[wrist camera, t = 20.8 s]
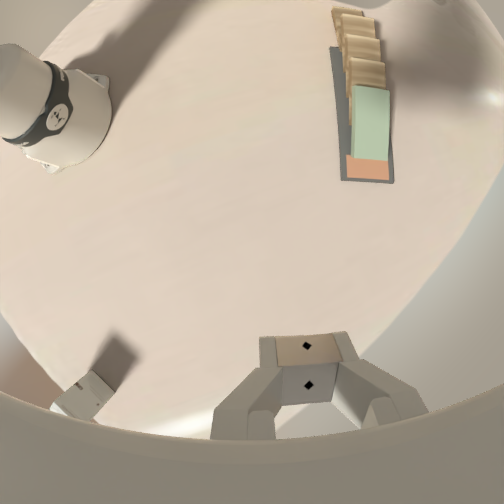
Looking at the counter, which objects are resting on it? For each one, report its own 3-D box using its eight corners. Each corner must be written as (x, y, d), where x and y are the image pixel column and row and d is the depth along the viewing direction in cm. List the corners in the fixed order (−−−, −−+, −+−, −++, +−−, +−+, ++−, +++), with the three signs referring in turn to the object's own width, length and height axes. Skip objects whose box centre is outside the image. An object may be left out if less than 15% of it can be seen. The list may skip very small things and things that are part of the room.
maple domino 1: (372, 50, 33) (360, 10, 33) (342, 46, 34) (332, 5, 33) (369, 56, 35) (358, 15, 35) (339, 51, 35) (331, 11, 35)
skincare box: (116, 391, 43) (84, 429, 31) (105, 403, 43) (75, 439, 31) (90, 367, 42) (53, 400, 30) (81, 380, 43) (46, 412, 31)
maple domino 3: (381, 101, 34) (379, 39, 30) (349, 97, 35) (347, 33, 30) (377, 101, 36) (375, 41, 31) (345, 97, 36) (344, 36, 32)
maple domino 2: (377, 75, 34) (373, 18, 29) (345, 71, 34) (342, 13, 30) (373, 76, 35) (370, 21, 31) (343, 72, 36) (339, 16, 31)
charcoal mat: (392, 183, 38) (394, 183, 37) (340, 180, 38) (341, 179, 37) (376, 55, 35) (377, 53, 35) (329, 48, 36) (330, 46, 35)
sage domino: (387, 160, 35) (389, 90, 31) (354, 158, 35) (355, 85, 31) (383, 159, 37) (385, 91, 32) (350, 156, 37) (351, 86, 33)
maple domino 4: (384, 129, 35) (385, 62, 30) (352, 125, 35) (351, 57, 31) (380, 128, 36) (380, 64, 32) (348, 125, 37) (348, 59, 32)
